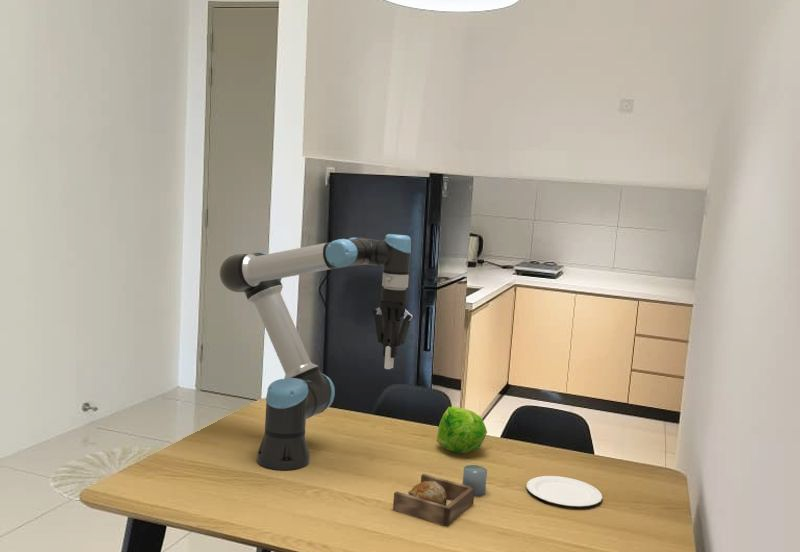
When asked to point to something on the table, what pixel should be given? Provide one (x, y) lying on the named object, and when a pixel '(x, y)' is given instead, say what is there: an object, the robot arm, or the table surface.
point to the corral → (432, 510)
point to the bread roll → (429, 492)
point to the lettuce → (461, 430)
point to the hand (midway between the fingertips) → (388, 368)
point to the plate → (564, 491)
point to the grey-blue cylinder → (475, 479)
